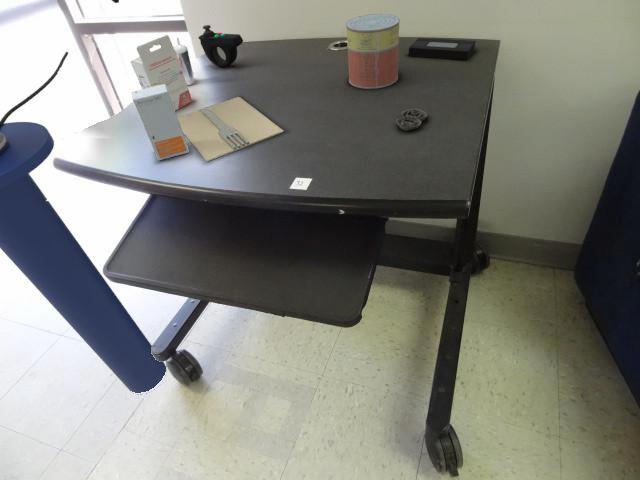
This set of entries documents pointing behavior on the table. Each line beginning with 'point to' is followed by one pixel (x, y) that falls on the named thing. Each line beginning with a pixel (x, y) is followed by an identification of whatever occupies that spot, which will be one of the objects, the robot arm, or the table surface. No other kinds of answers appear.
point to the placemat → (232, 115)
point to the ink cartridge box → (162, 70)
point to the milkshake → (184, 62)
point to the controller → (220, 46)
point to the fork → (225, 130)
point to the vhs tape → (442, 48)
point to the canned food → (373, 50)
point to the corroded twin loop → (411, 119)
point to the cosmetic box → (160, 121)
